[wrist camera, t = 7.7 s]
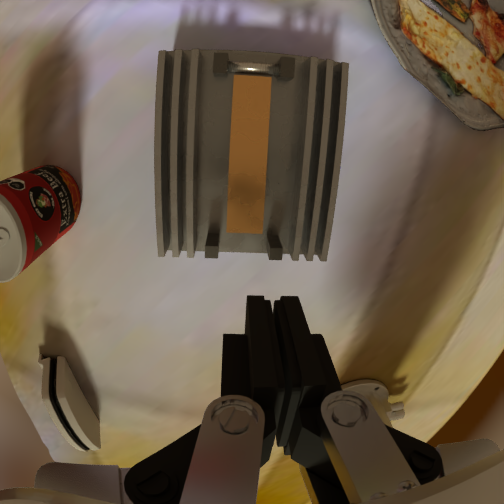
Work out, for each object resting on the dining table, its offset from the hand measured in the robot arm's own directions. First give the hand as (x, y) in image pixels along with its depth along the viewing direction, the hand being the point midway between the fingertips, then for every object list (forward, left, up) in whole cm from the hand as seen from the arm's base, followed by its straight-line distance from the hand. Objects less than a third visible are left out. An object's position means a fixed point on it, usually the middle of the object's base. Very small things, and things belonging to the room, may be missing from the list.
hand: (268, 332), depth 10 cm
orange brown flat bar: (0, -4, -15) cm, 16 cm away
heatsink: (0, -4, -19) cm, 20 cm away
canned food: (+20, 0, -20) cm, 28 cm away
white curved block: (+25, +31, -20) cm, 45 cm away
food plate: (-23, -23, -20) cm, 38 cm away
